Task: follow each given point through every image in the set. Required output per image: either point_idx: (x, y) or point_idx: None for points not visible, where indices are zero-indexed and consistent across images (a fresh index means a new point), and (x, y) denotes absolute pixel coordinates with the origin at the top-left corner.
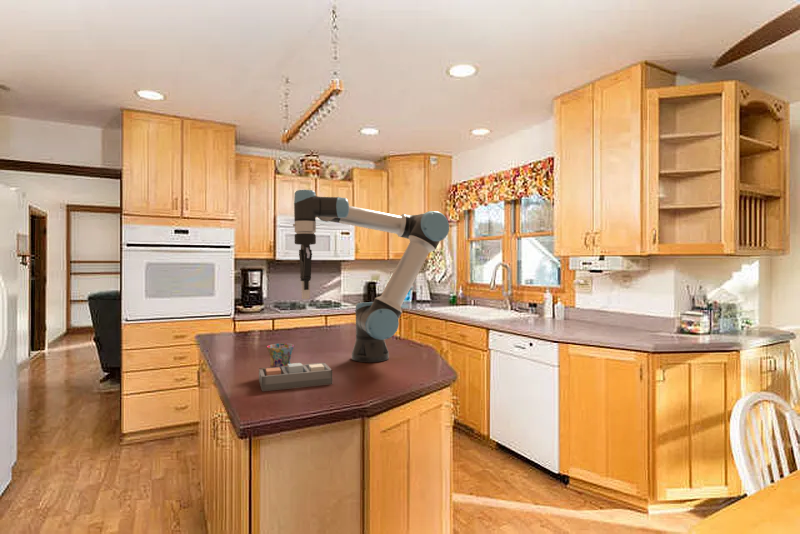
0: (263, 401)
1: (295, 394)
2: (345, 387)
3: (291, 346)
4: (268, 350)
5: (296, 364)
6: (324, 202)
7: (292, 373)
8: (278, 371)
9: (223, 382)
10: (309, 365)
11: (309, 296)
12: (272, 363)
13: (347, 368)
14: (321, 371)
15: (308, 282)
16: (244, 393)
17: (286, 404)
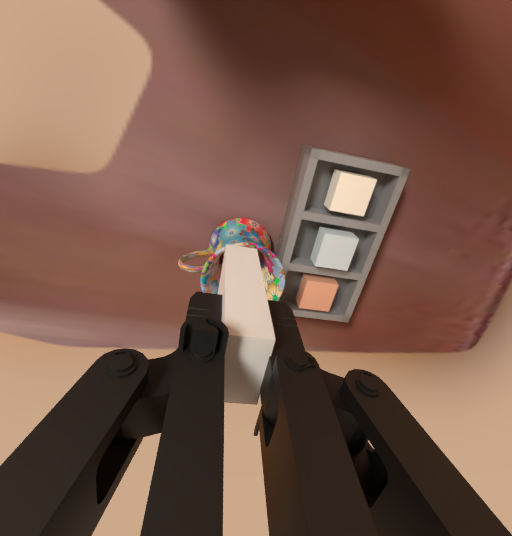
0: (397, 314)
1: (401, 260)
2: (440, 147)
3: (276, 259)
4: None
5: (336, 249)
6: None
7: (366, 265)
8: (336, 288)
9: None
10: (337, 211)
11: (258, 259)
12: None
13: (262, 28)
14: (398, 199)
15: (303, 348)
16: (329, 330)
17: (441, 289)
